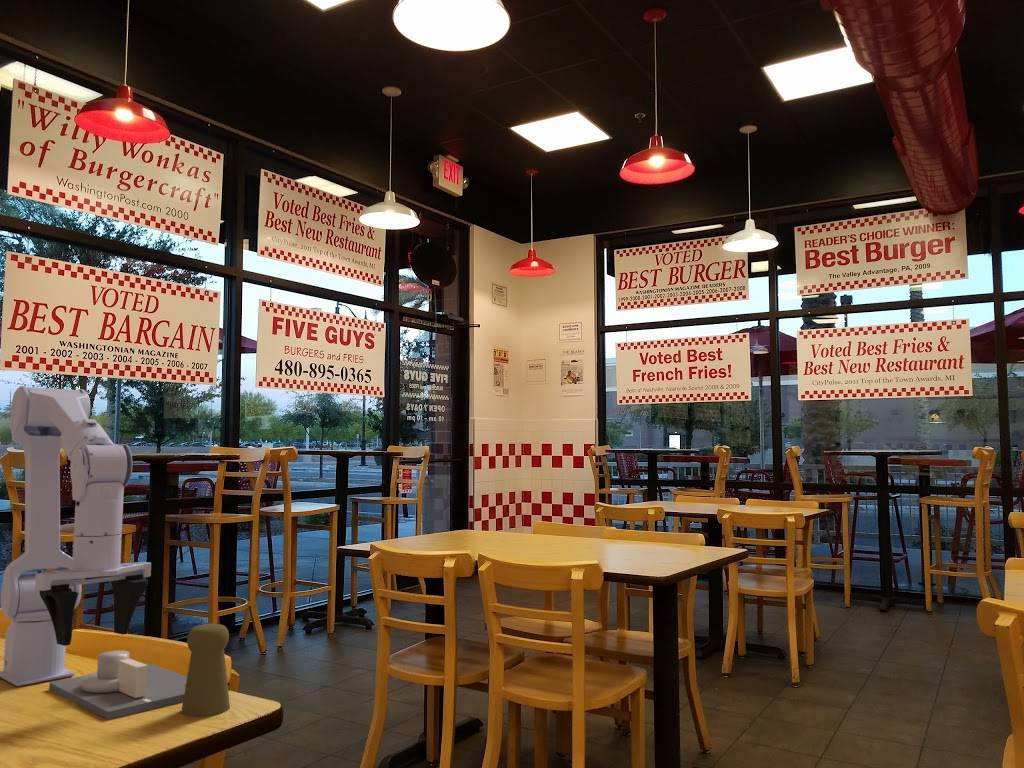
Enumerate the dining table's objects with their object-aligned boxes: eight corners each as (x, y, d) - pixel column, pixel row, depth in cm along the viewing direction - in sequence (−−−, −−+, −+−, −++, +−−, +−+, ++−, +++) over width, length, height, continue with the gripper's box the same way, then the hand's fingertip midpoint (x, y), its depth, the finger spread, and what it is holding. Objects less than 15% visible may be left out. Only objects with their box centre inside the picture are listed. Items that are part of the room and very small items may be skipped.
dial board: (49, 689, 114) (49, 681, 114) (149, 669, 125) (150, 662, 125) (107, 719, 101) (108, 710, 101) (214, 694, 112) (214, 686, 112)
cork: (213, 718, 102) (216, 630, 103) (171, 715, 103) (174, 628, 104) (238, 704, 108) (241, 621, 109) (198, 701, 109) (201, 619, 110)
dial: (71, 685, 112) (72, 654, 113) (128, 673, 118) (130, 644, 119) (110, 703, 104) (111, 670, 104) (170, 690, 110) (171, 659, 110)
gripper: (57, 541, 98) (51, 654, 97) (165, 532, 110) (161, 632, 109) (29, 537, 102) (23, 646, 101) (136, 529, 114) (132, 626, 113)
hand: (93, 638), depth 105 cm, fingers open, 7 cm apart
